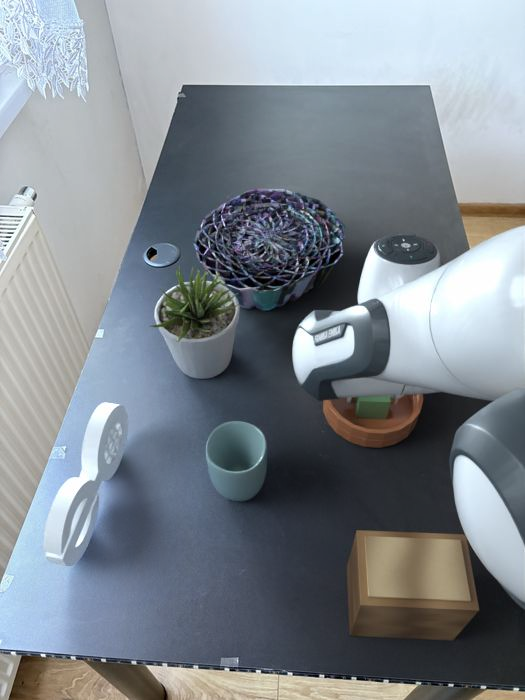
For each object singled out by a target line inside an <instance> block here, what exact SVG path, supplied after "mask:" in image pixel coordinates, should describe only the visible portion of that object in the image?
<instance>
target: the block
mask: <svg viewBox="0 0 525 700" xmlns="http://www.w3.org/2000/svg"><path fill="white" fill-rule="evenodd" d="M390 403H391V399H390V395H388V396H367V397H358V399H357V403H355V413H356V418H362V419H386V418H387V414H388V411H389V407H390Z"/></svg>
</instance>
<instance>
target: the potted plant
mask: <svg viewBox="0 0 525 700" xmlns="http://www.w3.org/2000/svg"><path fill="white" fill-rule="evenodd" d="M194 267H195V265H192V268H191V273H190V277H189V281H186V282H185V281H184V277H183V275H182V271H181V265H178V269H175V272H176V277H177V281H178V285H175V286H173V287H171V288H170V289H168V290H167V291H164V290H163V289H161V288H160V287H159V290H160V291H161V292H162V296H161V297H160V298H159V300H158V301H157V303H156V305H155V308H154V320H155V323H156V324H153V325H149V327H150V328H157V329H158V330H159V332H160V334H161V335H162V336H163V339H164V341H165V343H166V345H167V347H168V349H169V351H170V353H171V355H172V358H173V360H174V362H175V363H176V365H177V367H178V368H179V370H181V372H182V373H183V374H184V375H186V376H188V377H191V378H194V379H202V380H203V379H211V378H214V377H216V376H218V375H220V374H221V373H223V372H224V371H225V370H226V369H227V368H228V367H229V365H230V362H231V360H232V355H233V351H234V343H235V338H236V332H237V327H238V324H239V320H240V319H239V318H240V314H241V313H240V312H241V307H240V306H239V305H240V304H239V302H238V299H237V298H236V295H237V294H238V293H237V294H234V293H233V292H232V291H231V290H232V289H228V288H226V287H224V286H223V285H221V284H219V283H221V281H219V282H217V283H215V281H216V280H217V278H218V277H217V278H216V279H214V280H212V281H209V280H207V275H209V274H208V272H207V271H206V269H204V270H205V271H204V274H203V276H202V277H201V276H200V273H201V270H199V268H197V269H196V276H195V278H194Z"/></svg>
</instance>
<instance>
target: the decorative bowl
mask: <svg viewBox="0 0 525 700" xmlns="http://www.w3.org/2000/svg"><path fill="white" fill-rule="evenodd" d="M196 230H197V231H196V234H195V237H194V240H193V244H192V245H193V247H194V248H195V253H196V254H195V255H196V259H197V261H198V262H199V263H200V264H201V265H202V266H203V268H204V270H206V273H208V274H207V275H209V277H210V278H211V280H212V281H213V280H214V279H216V278H217V277H218V278H217V280H216V281H215V283H217V282H219V281H221V283H219V284H221V285H223V286H224V287H226V288H228V289H232V290H231V291H232V292H233V293H234V294H237V293H238V294H237V295H236V298H237V299H238V302H239V304H240V305H239V306H240V308H242V309H247V310H251V309H254V308H256V309H258V310H261V311H265V312H266V311H271V310H274V309H275V308H279V307H283V306H284V305H285V304H287V303H288V301H291V302H292V301H293V302H294V301H296V300H299V299H300V298H301V297H302V296H303V294H306V293H307V292H308V291H309V290H312V289H316V288H320V287H322V285H324V282H325V281H326V279H327V278H328V276H329V275H330V273H331V271H332V270H333V268H334V266H335V264H336V263H337V262H338V261H339V260H340V259H341V258H342V256H343V255H344V245H343V243H344V241H345V237H346V226H345V224H344V223H343V222H342V221H341V219H339V217H338V215H337V213H336V212H335V211H333V210H331V209H330V208H329V206H327V205H326V204H325V203H324V202H322V201H321V200H320V199H317V198H315V197H314V198H313V197H310V196H307V195H304V194H302V193H299V192H296V191H295V192H294V191H291V190H288V189H285V188H267V189H266V188H256V189H251V190H248V191H245V192H243V193H241V194H240V195H236V196H235V197H233V198H231V199H230V200H227V201H225V202H224V203H222V204H221V205H220V206H219V207H217V208H215V209H213V210H211V211H210V212H209V213H208V214H207V215H206V216H204V217H203V218H202V222H201V224H200V225H199V227H198V228H197V229H196Z"/></svg>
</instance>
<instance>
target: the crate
mask: <svg viewBox="0 0 525 700" xmlns="http://www.w3.org/2000/svg"><path fill="white" fill-rule="evenodd" d="M346 585H347V607H348V609H347V610H348V611H347V612H348V631H349V632H348V634H349V636H350V637H367V638H369V637H370V638H388V639H389V638H392V639H410V640H411V639H412V640H429V641H430V640H432V641H433V640H434V641H454V640H455V639H456V638H457V636H458V635H460V633H461V632H462V631H463V630H464V628H465V627H466V626H467V625H468V624H469V623H470V622H471V621H472V619H473V618H474V617H475V616H476V615H477V614H478V613H479V611H480V606H479V601H478V595H477V589H476V583H475V578H474V572H473V567H472V561H471V555H470V550H469V544H468V539H467V537H466V535H465V534H461V533H437V532H435V533H433V532H414V531H413V532H411V531H410V532H409V531H388V530H387V531H386V530H385V531H384V530H361V529H360V530H359V529H358V530H356V531H355V535H354V539H353V542H352V546H351V550H350V554H349V558H348V561H347V565H346Z"/></svg>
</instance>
